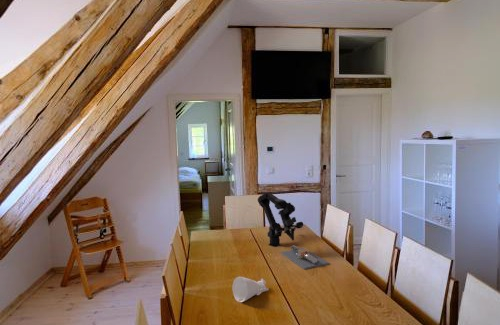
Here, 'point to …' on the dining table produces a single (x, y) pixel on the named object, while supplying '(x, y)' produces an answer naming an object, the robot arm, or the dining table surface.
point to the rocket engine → (247, 288)
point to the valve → (307, 256)
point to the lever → (301, 254)
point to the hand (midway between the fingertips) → (293, 240)
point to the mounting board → (304, 260)
